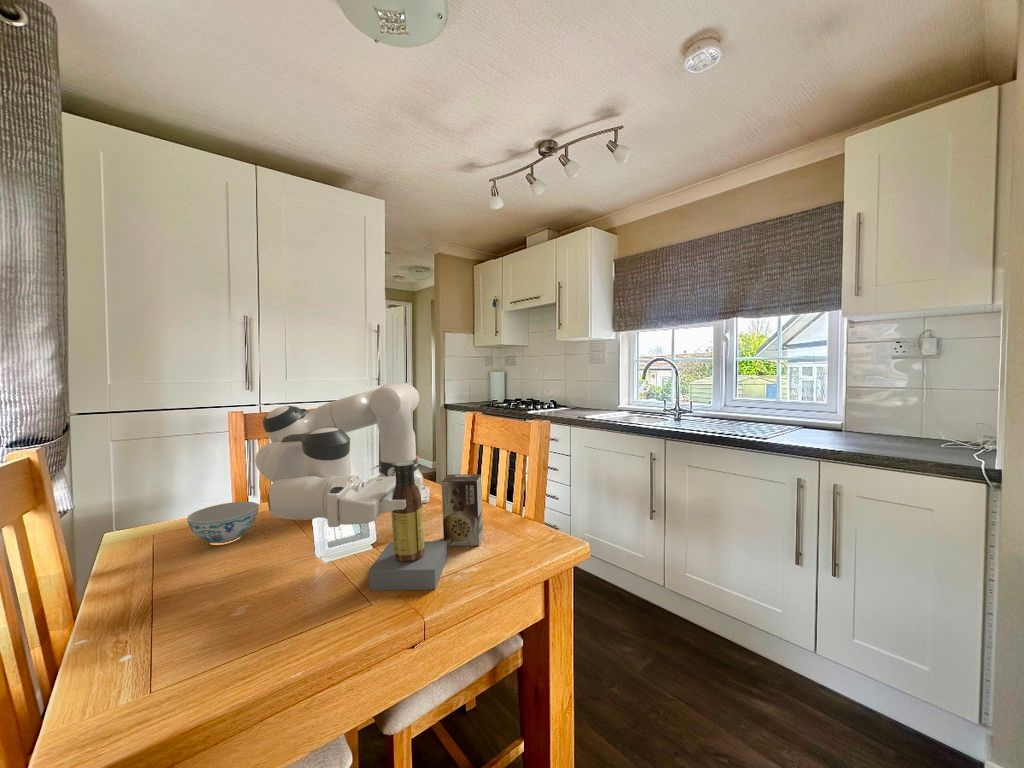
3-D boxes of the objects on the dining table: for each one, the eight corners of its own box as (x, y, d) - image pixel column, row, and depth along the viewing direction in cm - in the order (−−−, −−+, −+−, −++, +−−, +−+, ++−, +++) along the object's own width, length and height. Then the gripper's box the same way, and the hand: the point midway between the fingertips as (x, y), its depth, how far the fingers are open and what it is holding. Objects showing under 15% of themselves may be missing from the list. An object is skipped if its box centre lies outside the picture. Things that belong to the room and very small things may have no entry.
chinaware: (216, 557, 94) (215, 524, 94) (173, 549, 99) (172, 518, 99) (273, 532, 109) (272, 504, 108) (233, 526, 113) (231, 499, 113)
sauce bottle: (414, 547, 89) (411, 457, 88) (430, 555, 84) (428, 461, 84) (387, 557, 84) (384, 462, 83) (402, 567, 80) (399, 467, 79)
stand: (390, 559, 92) (389, 541, 92) (447, 558, 91) (446, 541, 91) (369, 590, 79) (368, 570, 79) (435, 589, 78) (434, 569, 78)
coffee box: (483, 535, 104) (482, 473, 103) (479, 546, 97) (477, 480, 97) (449, 535, 105) (447, 473, 104) (442, 545, 98) (440, 480, 98)
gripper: (366, 496, 95) (424, 495, 95) (324, 531, 75) (398, 530, 75) (365, 469, 95) (423, 469, 95) (323, 497, 75) (397, 496, 74)
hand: (412, 496), depth 84 cm, fingers open, 8 cm apart
